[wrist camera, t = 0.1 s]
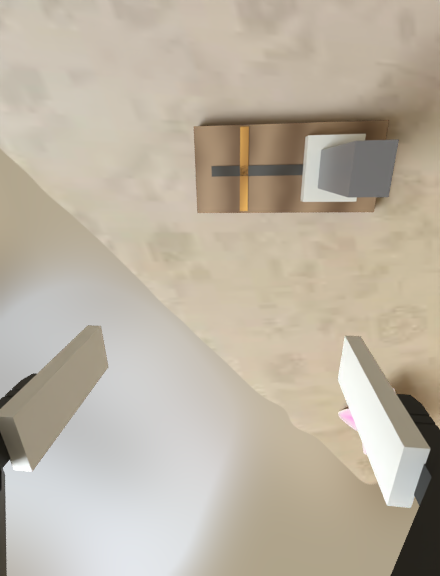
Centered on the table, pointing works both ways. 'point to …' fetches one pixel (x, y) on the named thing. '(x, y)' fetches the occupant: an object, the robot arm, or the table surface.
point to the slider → (346, 167)
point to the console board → (266, 166)
